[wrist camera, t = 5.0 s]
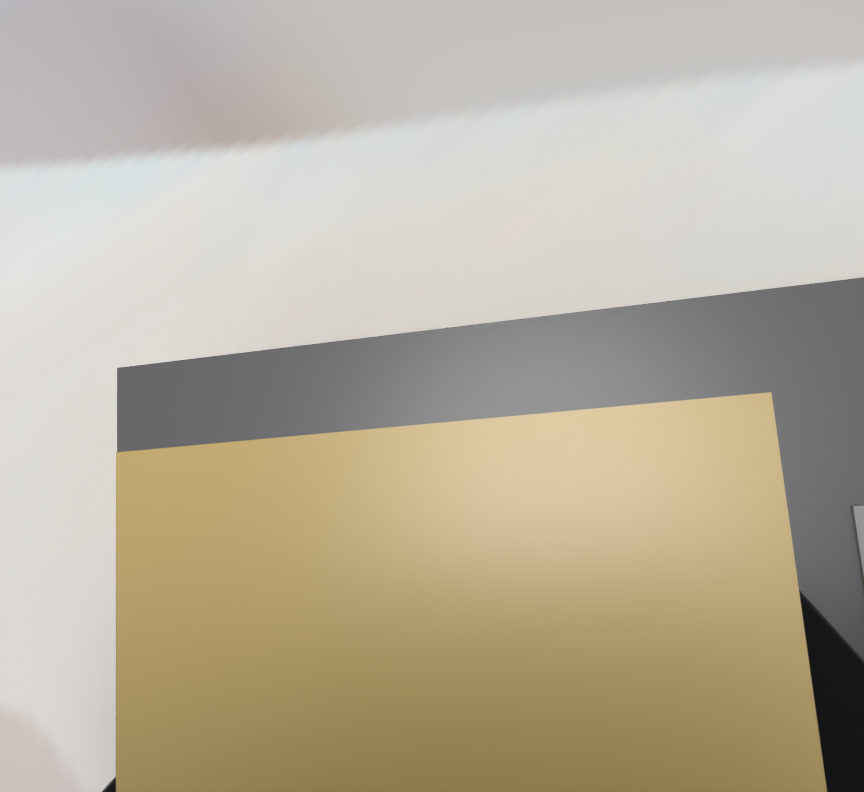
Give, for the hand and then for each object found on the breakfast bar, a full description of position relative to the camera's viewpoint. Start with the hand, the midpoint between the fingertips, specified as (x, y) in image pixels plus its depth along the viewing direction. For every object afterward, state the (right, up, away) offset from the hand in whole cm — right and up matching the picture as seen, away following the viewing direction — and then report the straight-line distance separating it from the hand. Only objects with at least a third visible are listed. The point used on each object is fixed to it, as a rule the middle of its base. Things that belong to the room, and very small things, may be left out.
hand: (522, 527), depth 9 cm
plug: (+1, -2, +5) cm, 5 cm away
